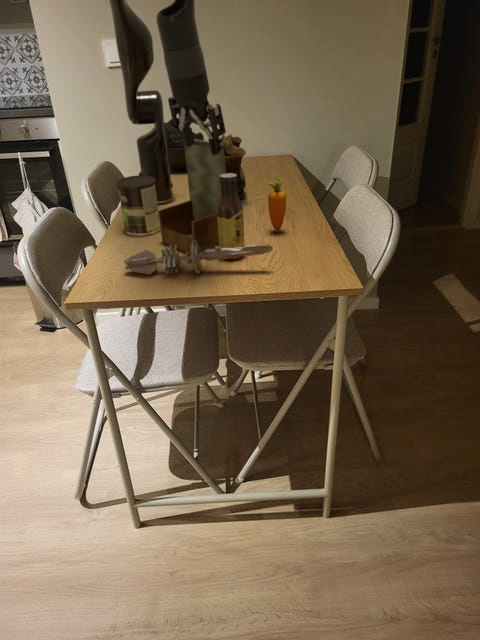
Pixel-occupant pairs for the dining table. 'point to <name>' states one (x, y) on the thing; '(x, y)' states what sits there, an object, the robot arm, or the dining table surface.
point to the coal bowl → (177, 145)
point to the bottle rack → (196, 201)
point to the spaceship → (188, 257)
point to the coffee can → (139, 205)
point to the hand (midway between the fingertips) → (203, 149)
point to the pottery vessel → (234, 161)
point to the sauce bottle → (230, 214)
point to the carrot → (277, 204)
